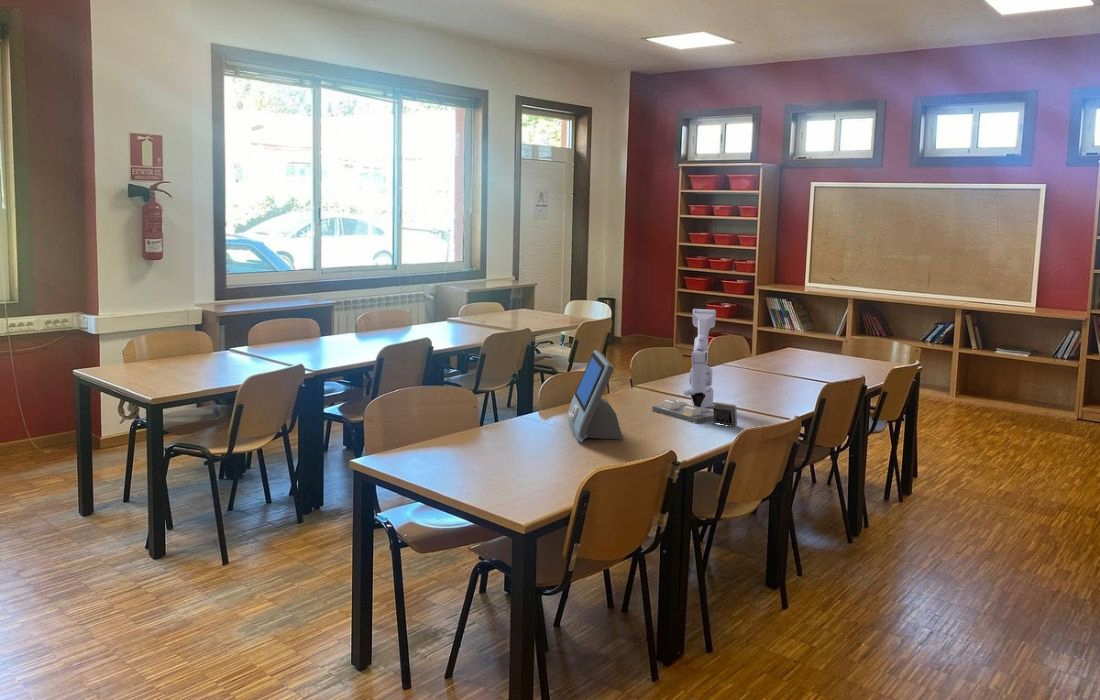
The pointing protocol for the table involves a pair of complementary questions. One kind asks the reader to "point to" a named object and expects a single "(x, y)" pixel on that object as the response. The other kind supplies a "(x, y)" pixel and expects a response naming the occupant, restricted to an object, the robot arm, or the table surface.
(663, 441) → the table surface
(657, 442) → the table surface
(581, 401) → the touchscreen device
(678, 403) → the slider
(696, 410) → the slider
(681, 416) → the switch panel
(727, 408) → the electrical switch
